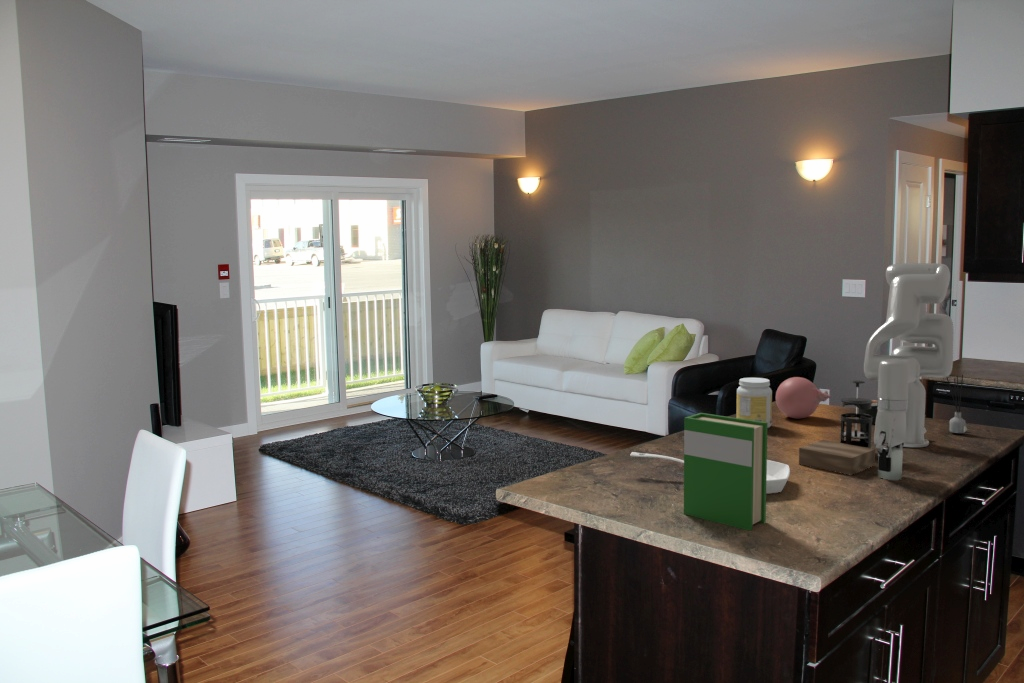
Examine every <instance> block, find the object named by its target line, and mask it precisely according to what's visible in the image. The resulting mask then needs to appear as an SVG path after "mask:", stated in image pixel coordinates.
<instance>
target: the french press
mask: <svg viewBox="0 0 1024 683" xmlns="http://www.w3.org/2000/svg"><path fill="white" fill-rule="evenodd" d="M849 382H850V383H851V384H852V383H853V384H855V388H856V397H846V398H845V397H844V398H841V400H840V401H841V402H842V407H843V408H844V407H845V406H855V412H849V413H841V414H840V441H839V443H844V444H849V445H855V446H860V447H866V448H871V449H872V426H873V425H872V416H870V415H869V414H859V412H858V410H859V409H861V410H869V409H871V403H873V401H872V400H873V399H868V398H862V397H861V398H860V397H859V396H858V395H859V388H860V384H866V381H864V380H859V379H858V380H857V379H855V380H854V379H852V380H850V381H849ZM859 418H861V419H859ZM853 424H855V429H854V430H853ZM858 424H860V425H859V426H860V427H859V428H860V429H859V431H858V430H857V429H858V428H857V427H858ZM852 439H853V440H852ZM854 439H855V440H854Z"/></svg>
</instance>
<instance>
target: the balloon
mask: <svg viewBox="0 0 1024 683" xmlns="http://www.w3.org/2000/svg"><path fill="white" fill-rule="evenodd" d="M831 398H832V395H831V394H829V392H828V390H823V391H822V390H820V389H819V388H817V386H816V385H815V384H814V383H813V381H811V380H809V379H807V378H805V377H800V376H793V377H789V378H787V379H785V380H784V381H782V382H781V383H780V384H779V386H778V387H777V390H776V391H775V403H776V406H777V408H778V409H779V411H780V412H781V413H782V414H784V415H785V416H787V417H789V418H791V419H796V420H798V419H801V420H802V419H805V418H808V417H810V416H811V415H812V414H814V413H815V412H816V410H817V409H818V407H819V404H820V403H821V402H826V401H827V400H828V399H831Z"/></svg>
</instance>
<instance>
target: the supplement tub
mask: <svg viewBox="0 0 1024 683" xmlns="http://www.w3.org/2000/svg"><path fill="white" fill-rule="evenodd" d="M738 381H739V382H738V385H739V386H738V388H736V413H735V414H736V415H735V416H736V417H735V418H740V419H746V420H753V421H760V422H767V423H768V426H767V429H769V428H770V427H771V426H772V422H773V421H772V417H773V414H772V413H773V412H772V411H773V409H772V408H773V390H772V388H771V387H770V386H771V383H770V382H771V381H770V379H768V378H764V377H743V378H740V379H739V380H738Z"/></svg>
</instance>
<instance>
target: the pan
mask: <svg viewBox="0 0 1024 683" xmlns="http://www.w3.org/2000/svg"><path fill="white" fill-rule="evenodd" d="M629 455H630V457H637V458H638V457H640V458H656V459H664V460H670V461H675V462H677V463H681V464H683V465H684V459H680V458H676V457H672V456H667V455H661V454H654V453H646V452H645V453H644V452H643V453H642V452H636V451H631V453H630V454H629ZM790 474H791V468H790V466H789V464H786V463H783V462H778V461H774V460H770V459H767V478H766V495H773V494H772V493H774V494H779V493H778V492H780V493H782V491H783V490H784V488H785V486H786V484H787V481H788V479H789V478H790Z"/></svg>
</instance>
